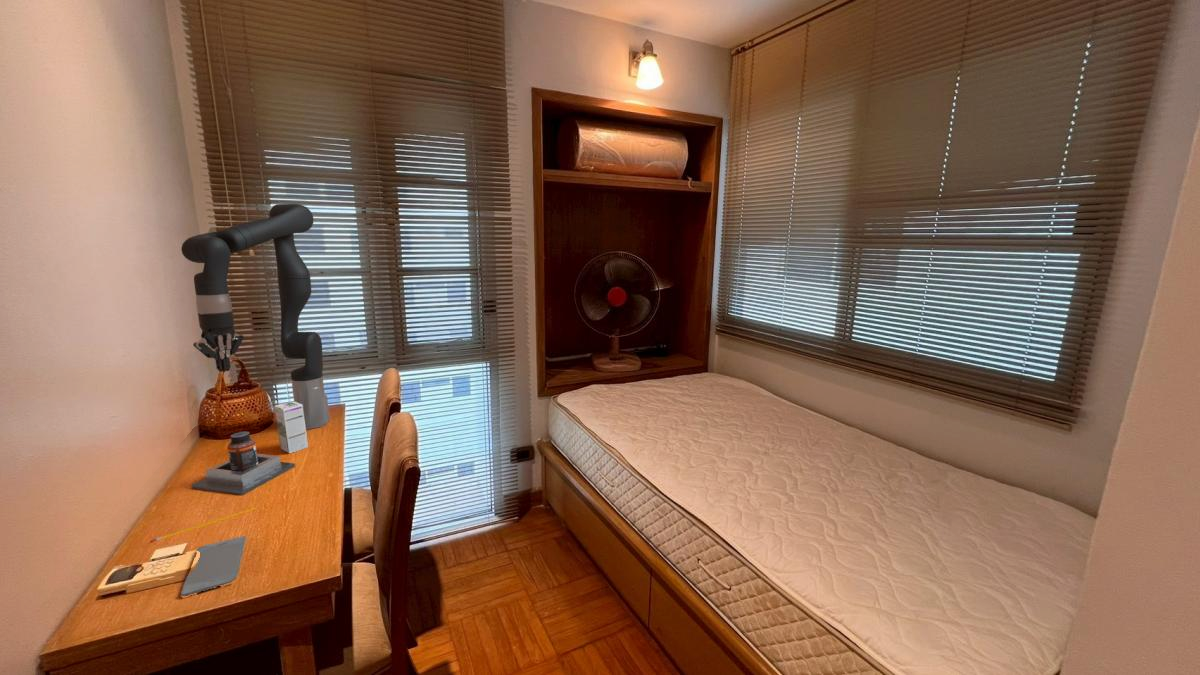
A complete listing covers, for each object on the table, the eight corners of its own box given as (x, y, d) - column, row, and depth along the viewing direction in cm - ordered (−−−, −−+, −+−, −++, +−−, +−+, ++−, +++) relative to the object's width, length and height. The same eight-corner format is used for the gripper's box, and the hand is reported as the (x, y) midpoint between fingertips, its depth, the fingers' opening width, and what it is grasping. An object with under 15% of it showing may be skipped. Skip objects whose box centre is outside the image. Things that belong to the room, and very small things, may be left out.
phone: (179, 602, 84) (178, 595, 84) (198, 552, 97) (197, 546, 97) (236, 585, 88) (235, 579, 88) (247, 540, 101) (246, 535, 101)
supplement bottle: (264, 468, 130) (259, 430, 128) (246, 479, 124) (241, 439, 122) (245, 467, 131) (239, 429, 129) (226, 477, 125) (220, 438, 123)
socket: (248, 461, 137) (246, 448, 136) (295, 466, 134) (293, 453, 133) (191, 488, 122) (189, 473, 121) (242, 495, 118) (240, 480, 118)
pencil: (152, 542, 100) (152, 539, 100) (256, 509, 113) (256, 507, 113) (152, 543, 100) (152, 540, 99) (257, 510, 112) (256, 508, 112)
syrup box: (309, 447, 146) (303, 403, 144) (288, 454, 141) (282, 408, 139) (299, 443, 149) (294, 400, 147) (279, 450, 144) (273, 405, 142)
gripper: (227, 307, 136) (235, 364, 140) (178, 313, 124) (189, 376, 127) (248, 308, 135) (256, 366, 138) (201, 314, 122) (211, 378, 125)
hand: (224, 371), depth 133 cm, fingers closed
